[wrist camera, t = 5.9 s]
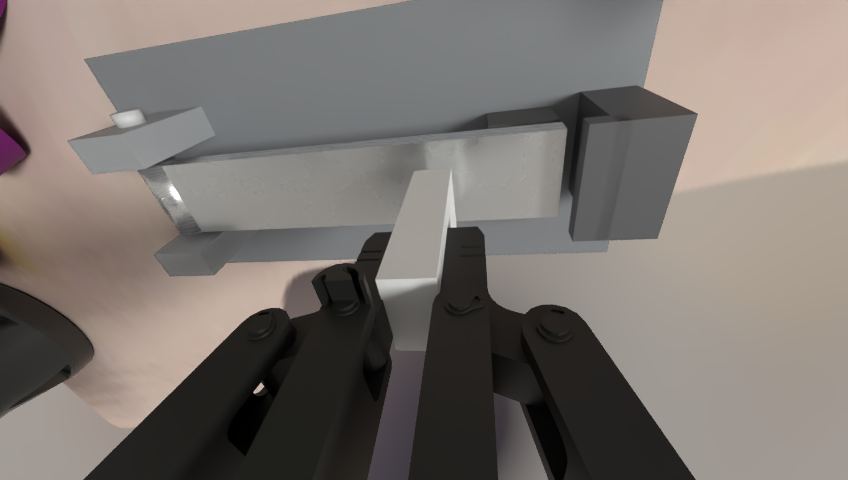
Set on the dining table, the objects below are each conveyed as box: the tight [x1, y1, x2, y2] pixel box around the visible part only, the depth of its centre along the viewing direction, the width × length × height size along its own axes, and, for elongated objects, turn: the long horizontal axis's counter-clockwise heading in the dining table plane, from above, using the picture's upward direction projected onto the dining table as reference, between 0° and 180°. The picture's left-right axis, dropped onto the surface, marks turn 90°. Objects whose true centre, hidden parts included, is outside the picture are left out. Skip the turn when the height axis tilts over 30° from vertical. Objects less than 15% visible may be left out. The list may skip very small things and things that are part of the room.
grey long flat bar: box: [137, 122, 567, 236], centre depth 16 cm, size 21×4×2 cm, turn 98°
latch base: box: [67, 0, 698, 276], centre depth 17 cm, size 28×14×7 cm, turn 98°
